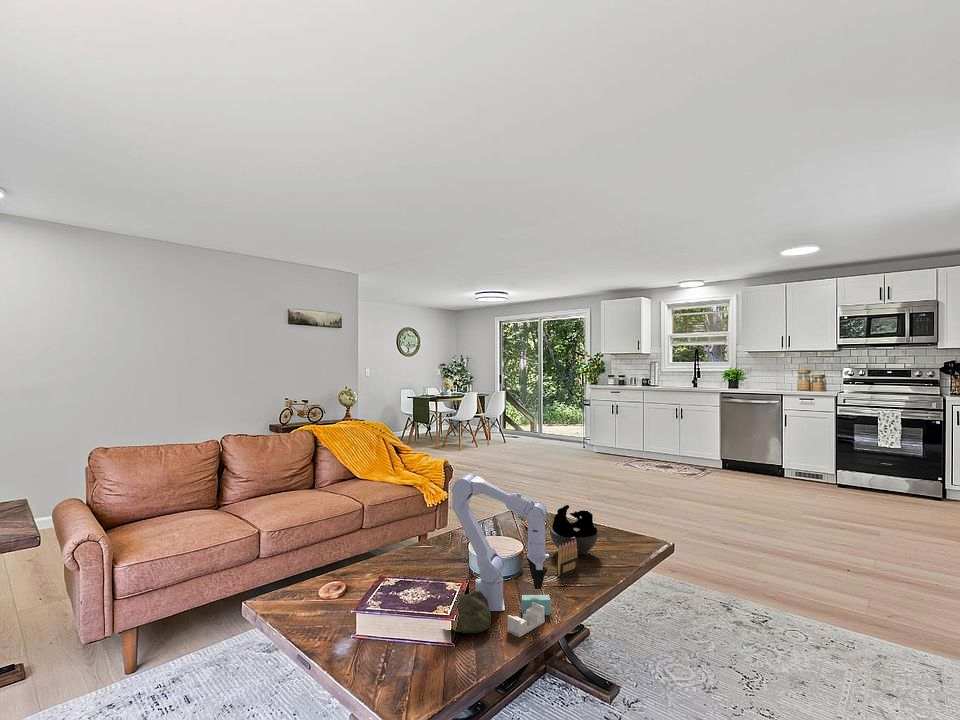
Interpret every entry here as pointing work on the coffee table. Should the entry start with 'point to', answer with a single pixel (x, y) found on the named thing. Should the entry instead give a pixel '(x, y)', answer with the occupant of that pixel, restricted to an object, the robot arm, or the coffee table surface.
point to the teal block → (539, 599)
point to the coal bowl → (574, 530)
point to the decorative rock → (473, 613)
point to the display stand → (526, 620)
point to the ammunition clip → (567, 559)
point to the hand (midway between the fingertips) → (536, 583)
